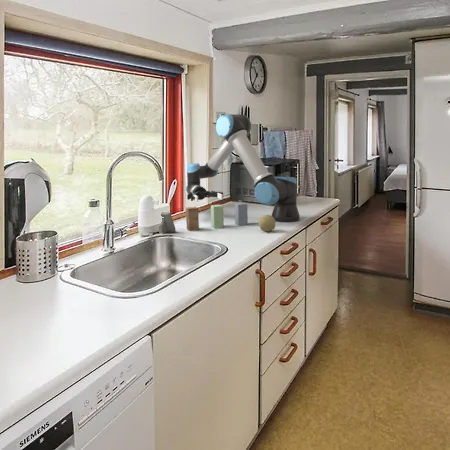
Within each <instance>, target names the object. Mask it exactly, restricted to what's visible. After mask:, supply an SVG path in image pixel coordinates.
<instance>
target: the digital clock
mask: <svg viewBox="0 0 450 450" xmlns="http://www.w3.org/2000/svg"><path fill="white" fill-rule="evenodd" d="M163 211H164V210H163ZM161 216H162V217H164V218H162V222H161V224H160V226H159V233H163V234H167V233H175V232H176V225H175V223H174V219H173V216H172V213H171V212H170V211H164V212H162V213H161ZM166 232H167V233H166ZM159 233H158V234H159Z"/></svg>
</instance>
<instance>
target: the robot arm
mask: <svg viewBox="0 0 450 450" xmlns="http://www.w3.org/2000/svg"><path fill="white" fill-rule="evenodd" d="M215 130H216V134H217V135H218V137H221V138H224V141H223V142H222V143H221V144H220V145H219V147H218V148H217V150H216V151H215V152H214V153H213V155H212V156H211V157H210V158H209V159H208V161H207V162H206V163H205V165H200V163H197V162H196V163H195V162H193V163H191V162H190V163H188V164H187V165H186V177H187V185H186V187H185V191H186V193H187V195H186V196H187V197H186V198H187V199H186V200H188V201H189V200H190V201H191V202H193V201H195V202H199V201H202V200H204V199H205V198H207V199H208V198H217V199H219V200H221V201H223V199H224V191H223V192H221V191H214V190H207V189H206V188H205V187H203V186H201V180H202V179H209V178H213V177H216V176H217V175H218V174H219V173H218V172H219V168H220V167H221V166H222V165H223V163H224V162H225V161H226V160H227V159H228V157H230V156H231V154H232V153H233V151H234V150H235V152H236V153H237V155H238V156H239V158H240V160H241V162H242V163H243V165H244V166H245V168H246V170H247V171H248V173H249V175H250V177H251V178H252V180H253V181H254V182H253V187H254V197H255V198H256V200H257V201H258V202H259V203H260V204H262V205H265V206H266V205H267V206H268V205H269V206H270V205H271V206H272V205H273V206H274V207H273V209H272V211H271V212H272V213H271V216H272V217H273V218H274V219H275V222H279V223H291V222H297V221H300V218H301V217H300V216H301V215H300V212H299V210H298V207H297V198H298V197H297V196H298V195H297V188H298V187H297V186H298V183H297V182H298V181H297V179H296V177H291V176H290V177H289V176H275V175H274V174H273V173H271V172H269V171H268V169H267V167H266V165H265V164H264V162H263V160H262V159H261V157H260V156H259V154H258V153H257V151H256V149H255V148H254V146H253V145H252V142H250V140H249V138H248V136H249V134H250V133H251V130H252V122H251V120H250V118H249V117H248V116H246V115H245V114H239V113H238V114H231V113H230V114H229V113H227V114H221V115H220V116H219V117H218V119H217V121H216V124H215Z"/></svg>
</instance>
